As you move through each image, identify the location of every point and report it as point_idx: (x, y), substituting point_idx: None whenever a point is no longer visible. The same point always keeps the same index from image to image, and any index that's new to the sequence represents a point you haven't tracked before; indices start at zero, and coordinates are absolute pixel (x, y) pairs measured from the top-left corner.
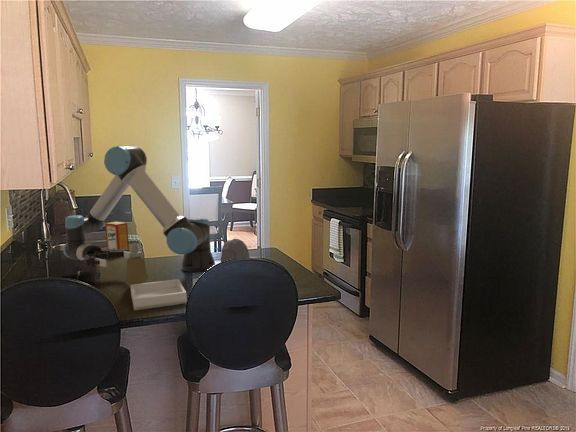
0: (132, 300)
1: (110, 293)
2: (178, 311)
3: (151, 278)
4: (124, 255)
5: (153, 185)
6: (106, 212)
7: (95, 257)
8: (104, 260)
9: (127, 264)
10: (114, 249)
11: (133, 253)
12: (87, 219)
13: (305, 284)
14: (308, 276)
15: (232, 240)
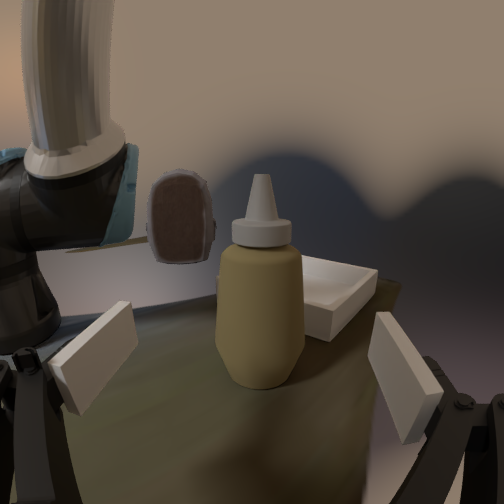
0: (360, 304)
1: (371, 389)
2: None
3: (128, 392)
4: (77, 394)
5: None
6: None
7: (404, 487)
8: (389, 313)
9: (301, 279)
10: None
11: (282, 219)
12: None
13: (144, 241)
14: (108, 244)
15: (186, 170)
